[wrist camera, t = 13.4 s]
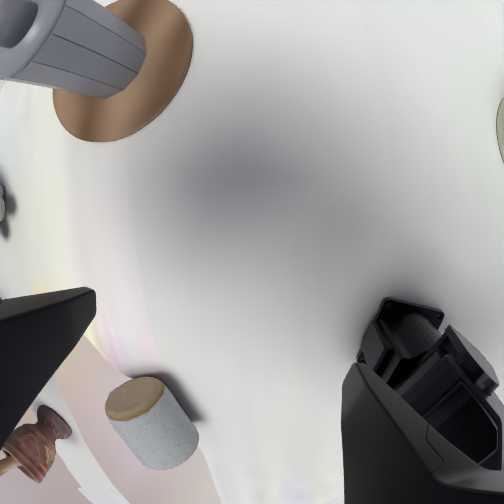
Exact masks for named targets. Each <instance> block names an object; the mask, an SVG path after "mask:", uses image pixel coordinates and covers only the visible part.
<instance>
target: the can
mask: <svg viewBox="0 0 504 504" xmlns="http://www.w3.org/2000/svg"><path fill="white" fill-rule="evenodd" d="M497 137H498V143H499V148H500V152H501V155H502V158H503V161H504V99H503V100H502V102H501V104H500V106H499V109H498V114H497Z"/></svg>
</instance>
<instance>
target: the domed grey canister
mask: <svg viewBox="0 0 504 504" xmlns="http://www.w3.org/2000/svg"><path fill="white" fill-rule="evenodd" d="M146 55H147V53H146V45H145V38H144V36H142V35H141V34H140V33H139V32H138V31H136V30H135V29H134V28H133V27H131V26H130V25H129V24H127V23H126V22H124V21H123V20H122V19H120V18H119V17H117V16H116V15H115V14H113V13H112V12H110V11H109V10H107V9H106V8H105V7H103V6H102V5H100V4H99V3H97V2H96V1H94V0H0V79H1V80H8V81H15V82H21V83H27V84H33V85H38V86H43V87H48V88H53V89H58V90H63V91H67V92H72V93H76V94H80V95H84V96H88V97H93V98H102V99H107V98H109V97H111V96H113V95H115V94H117V93H119V92H122V91H123V90H125V88H126V87H127V86H128V85H129V84H130V83H131V82H132V81H133V80H134V79H135V77H136V76H137V75H138V73H139V72H140V70H141V67H142V64H143V62H144V59H145V57H146Z"/></svg>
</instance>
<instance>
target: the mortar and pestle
mask: <svg viewBox="0 0 504 504" xmlns="http://www.w3.org/2000/svg"><path fill="white" fill-rule="evenodd" d="M37 418H38V422H37V423H36V424H23V425H22V426H20V427H18V428H16V429H15V430H14V431H13V432H12V433H11V435H10V436H9V438H8V439H7V441H6V442H5V444H4V446H3V447H2V451H3V452H4V453H5V455H6V456H7V457H6V458H5V459H2V460H0V477H1V476H2V475H4V474H5V473H6V472H7V471H9V470H10V469H12V468H14V467H16V466H17V467H18V468H19V469H20V470H21V471H22V472H23V473H25V474H26V475H27V476H28V477H29V478H31V479H32V480H34V481H35V482H37V483H40V482H41V481H42V480H43V478H44V477H45V475H46V473H47V472H48V471H49V469H50V467H51V466H52V464H53V461H54V456H55V454H56V448H55V441H56V439H59V438H60V439H67V438H68V437H69V436H70V435H71V429H70V426H69V425H67V424H66V423H65V422H64V421H63V420H62V419H61V418H60V417H59V416H58V415H57V414H56V413H55V412H54V411H53V410H51V409H50V408H48V407H46V406H39V408H38V410H37Z"/></svg>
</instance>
